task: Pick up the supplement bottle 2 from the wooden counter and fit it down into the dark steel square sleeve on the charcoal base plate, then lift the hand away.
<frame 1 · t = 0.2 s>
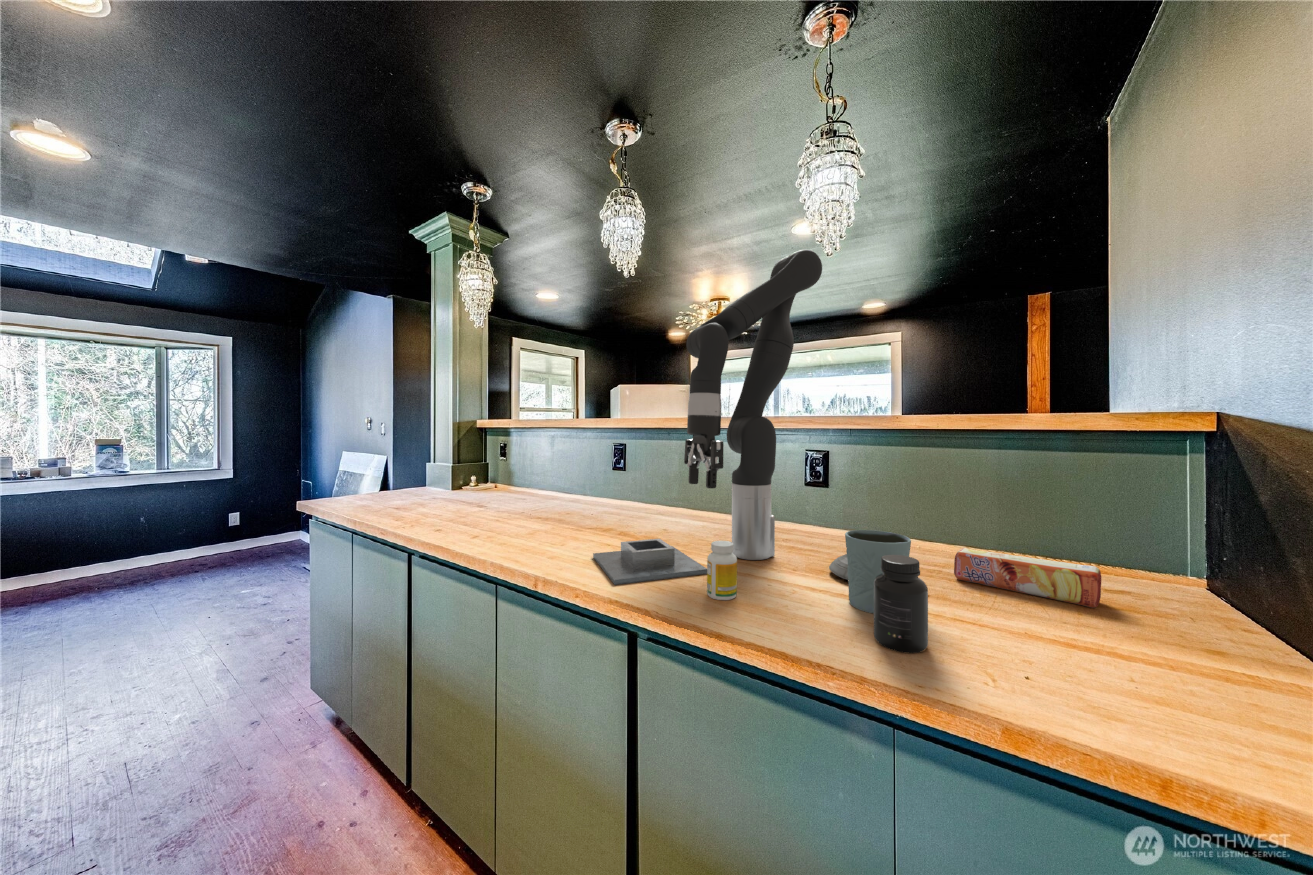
hand: (701, 485, 103), 17 cm above the counter, tool pointing down, fingers open, 8 cm apart
grey-green cup: (876, 605, 79), on the counter
sleeve: (647, 565, 102), on the counter
snack package: (1022, 592, 86), on the counter
supplement bottle 2: (721, 596, 83), on the counter
supplement bottle: (899, 644, 65), on the counter
flying saucer: (868, 579, 93), on the counter
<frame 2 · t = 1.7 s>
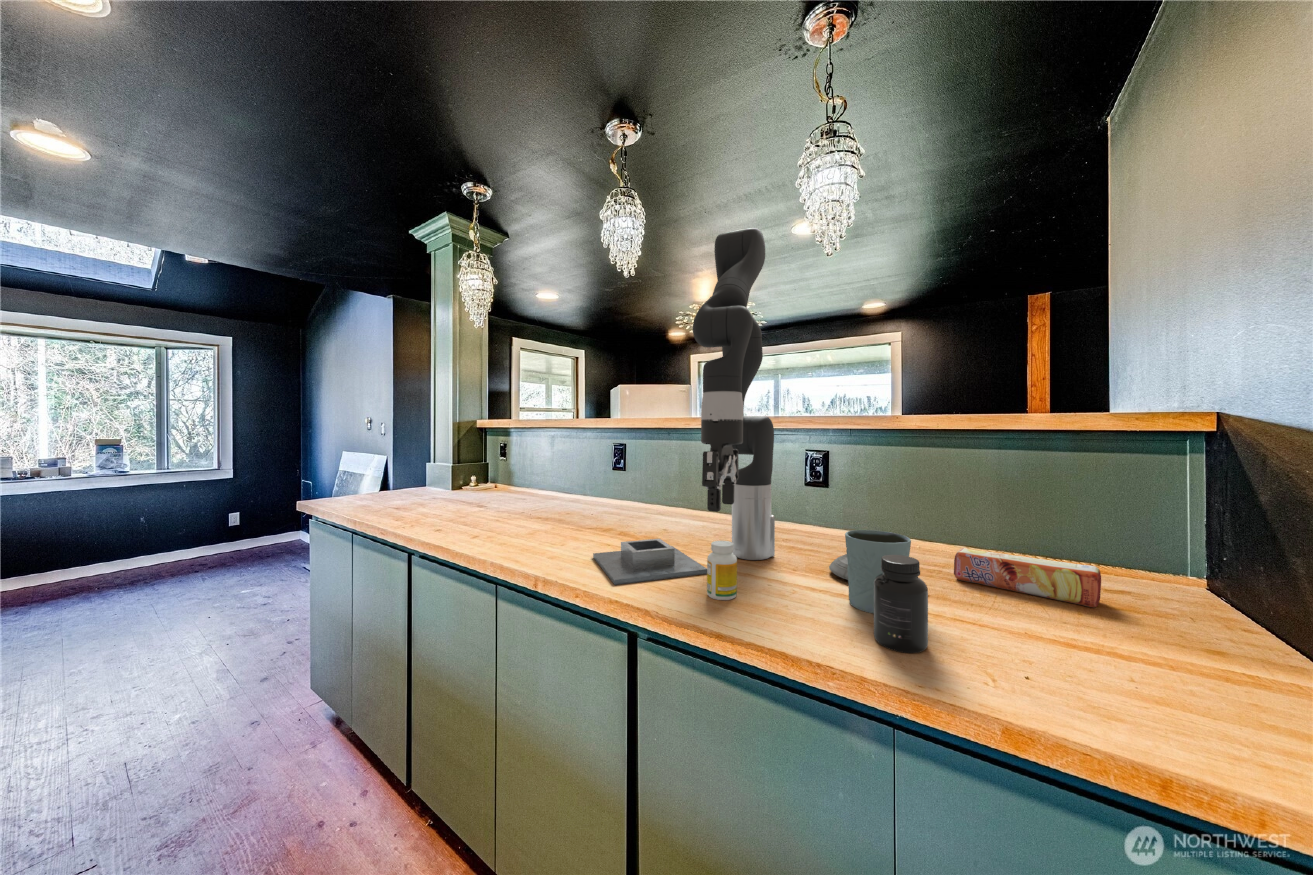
hand: (721, 507, 83), 16 cm above the counter, tool pointing down, fingers open, 8 cm apart
nothing on the counter moved.
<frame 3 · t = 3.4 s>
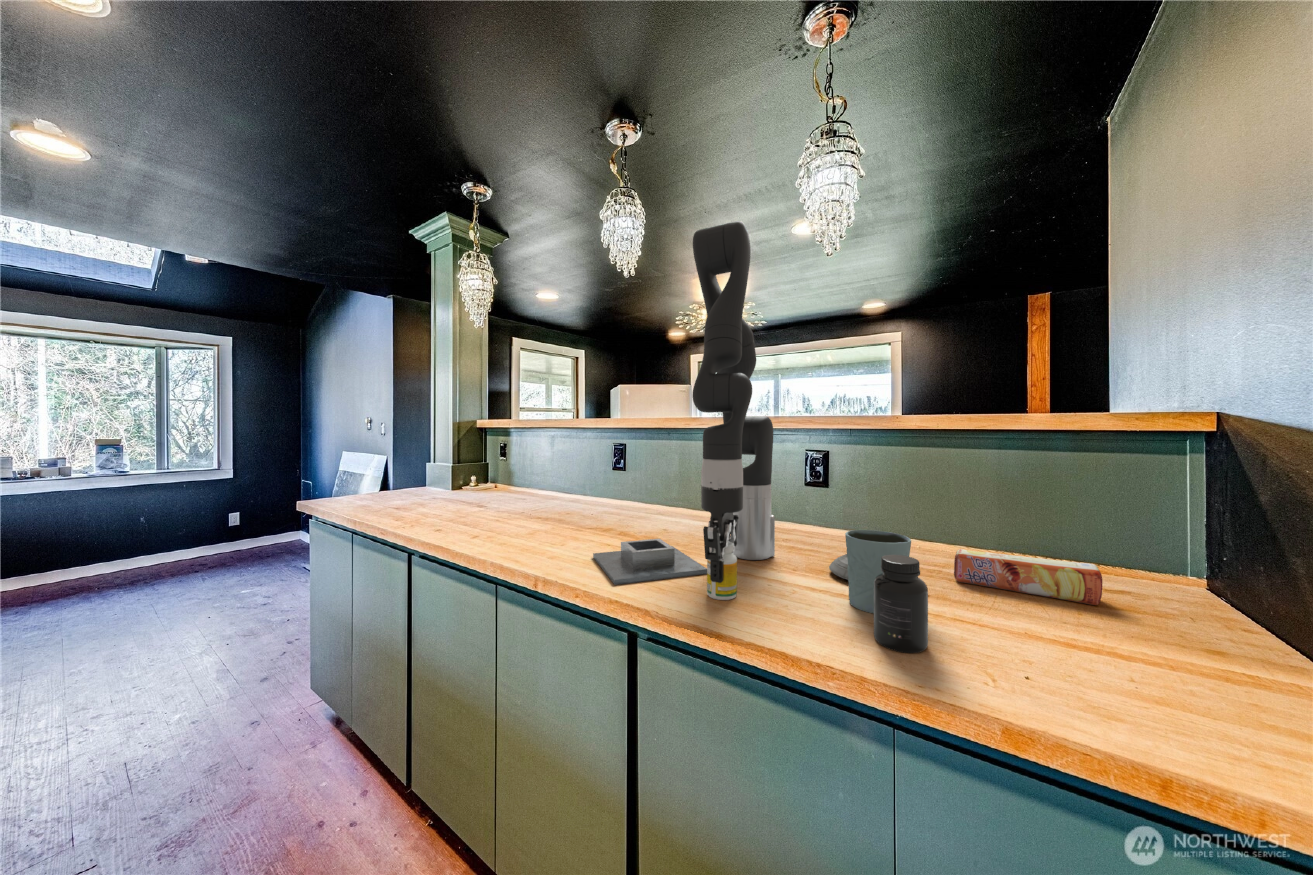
hand: (721, 576, 83), 4 cm above the counter, tool pointing down, fingers closed on supplement bottle 2, 5 cm apart
supplement bottle 2: (721, 596, 83), on the counter, touching gripper
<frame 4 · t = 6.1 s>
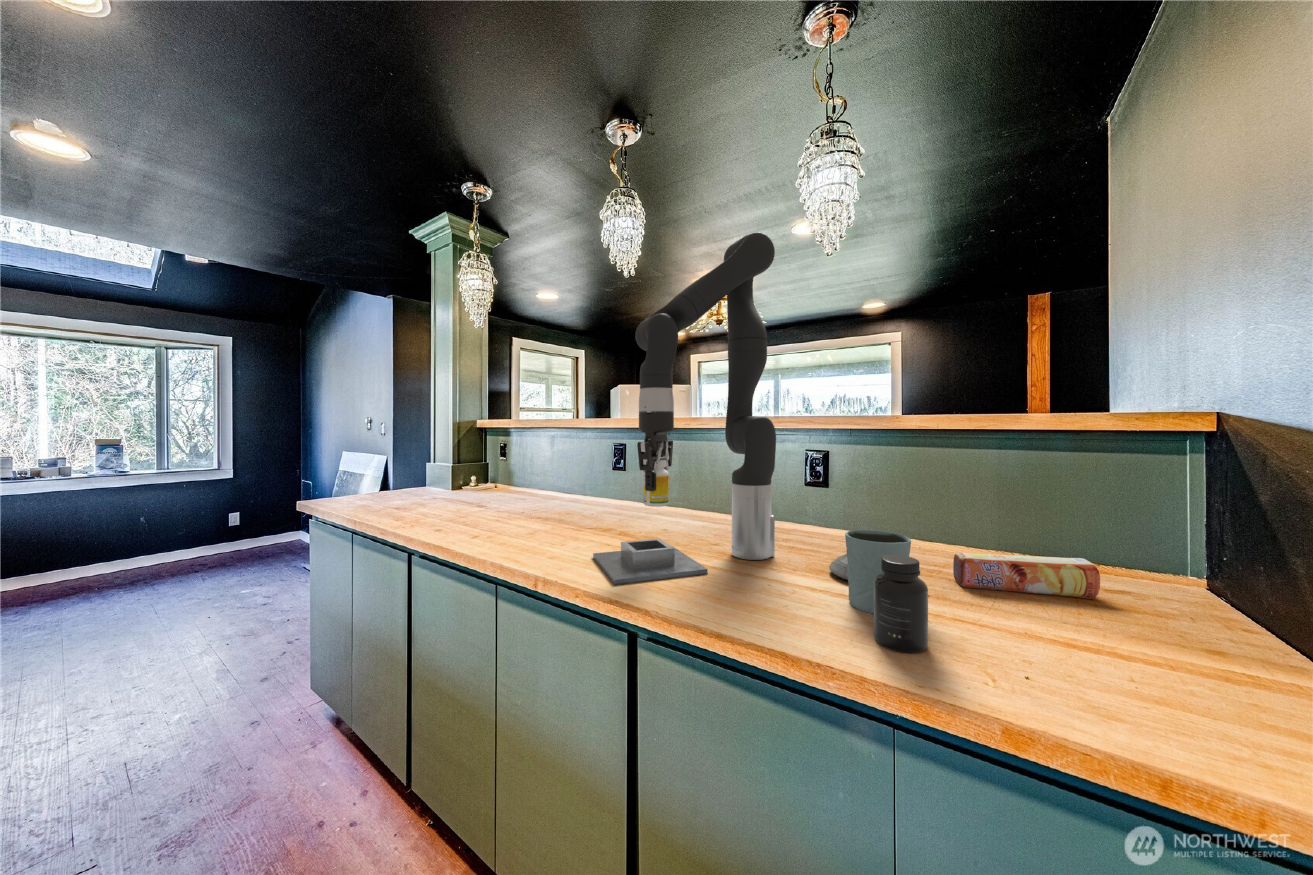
hand: (656, 488, 98), 17 cm above the counter, tool pointing down, fingers closed on supplement bottle 2, 5 cm apart
supplement bottle 2: (656, 505, 98), point 14 cm above the counter, touching gripper
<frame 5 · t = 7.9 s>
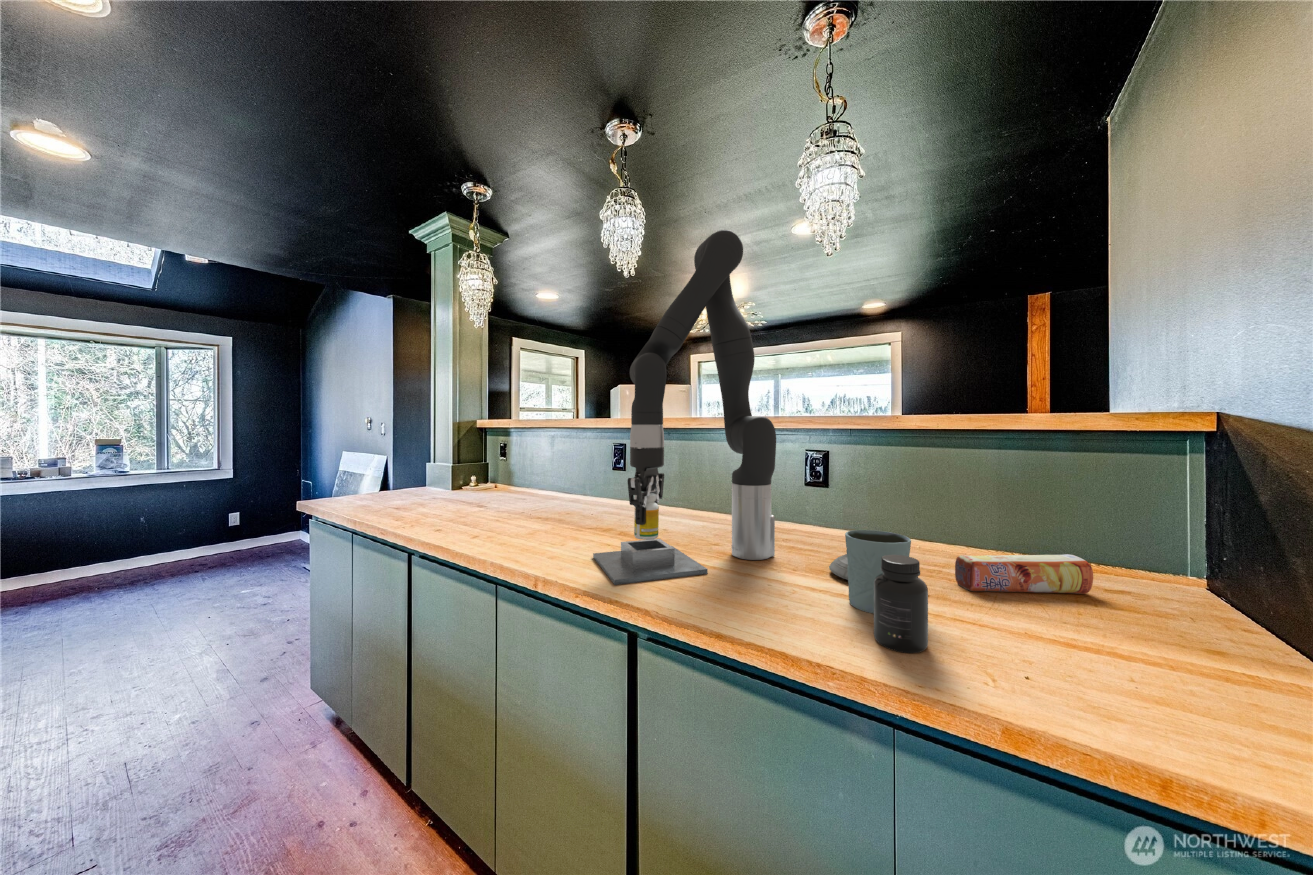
hand: (646, 521, 101), 10 cm above the counter, tool pointing down, fingers closed on supplement bottle 2, 5 cm apart
supplement bottle 2: (646, 538, 101), point 6 cm above the counter, touching gripper
when the fingers open (6 cm above the counter, at t = 9.2 s): supplement bottle 2 drops 1 cm, resting on sleeve.
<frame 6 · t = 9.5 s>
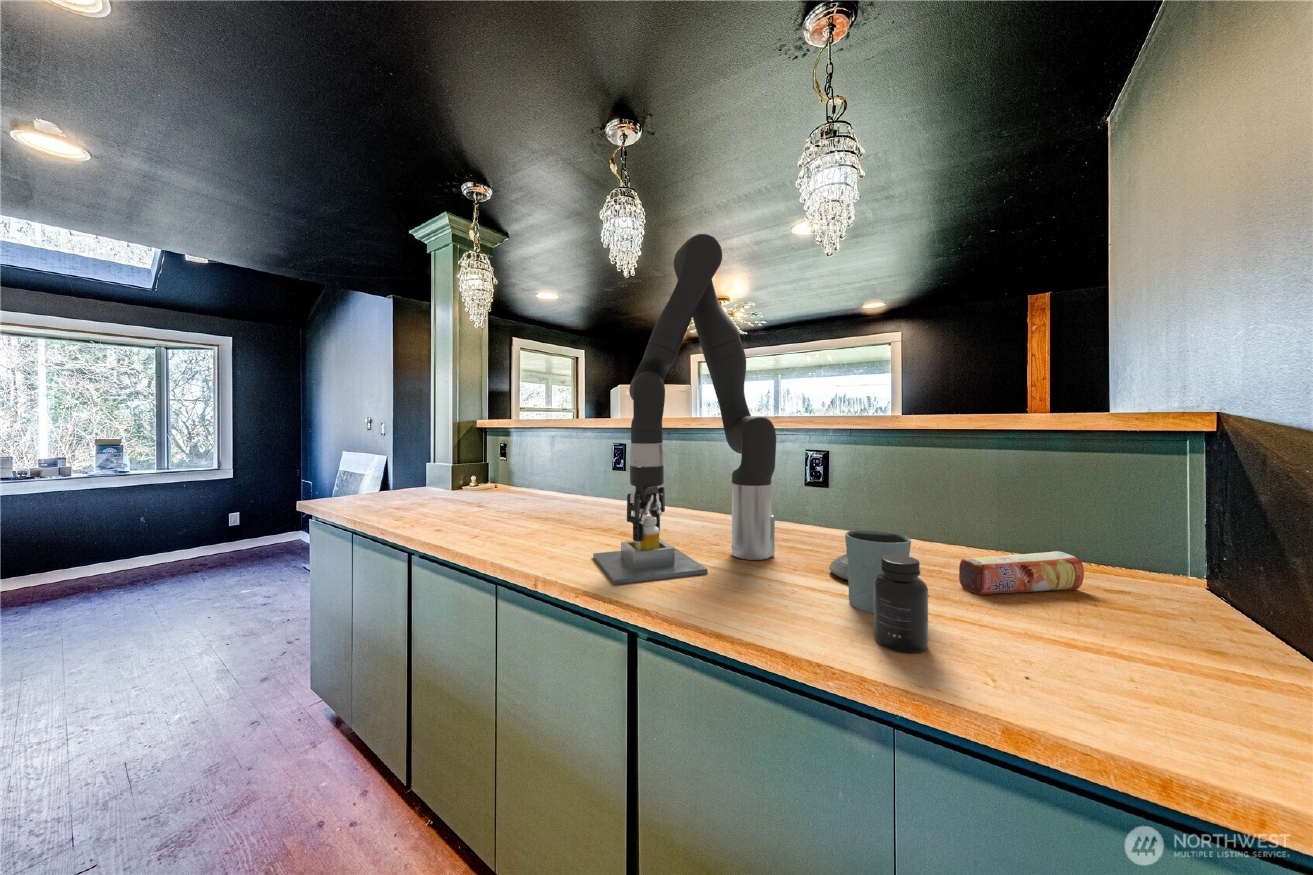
hand: (646, 536, 101), 6 cm above the counter, tool pointing down, fingers open, 8 cm apart
supplement bottle 2: (647, 561, 102), point 1 cm above the counter, touching sleeve
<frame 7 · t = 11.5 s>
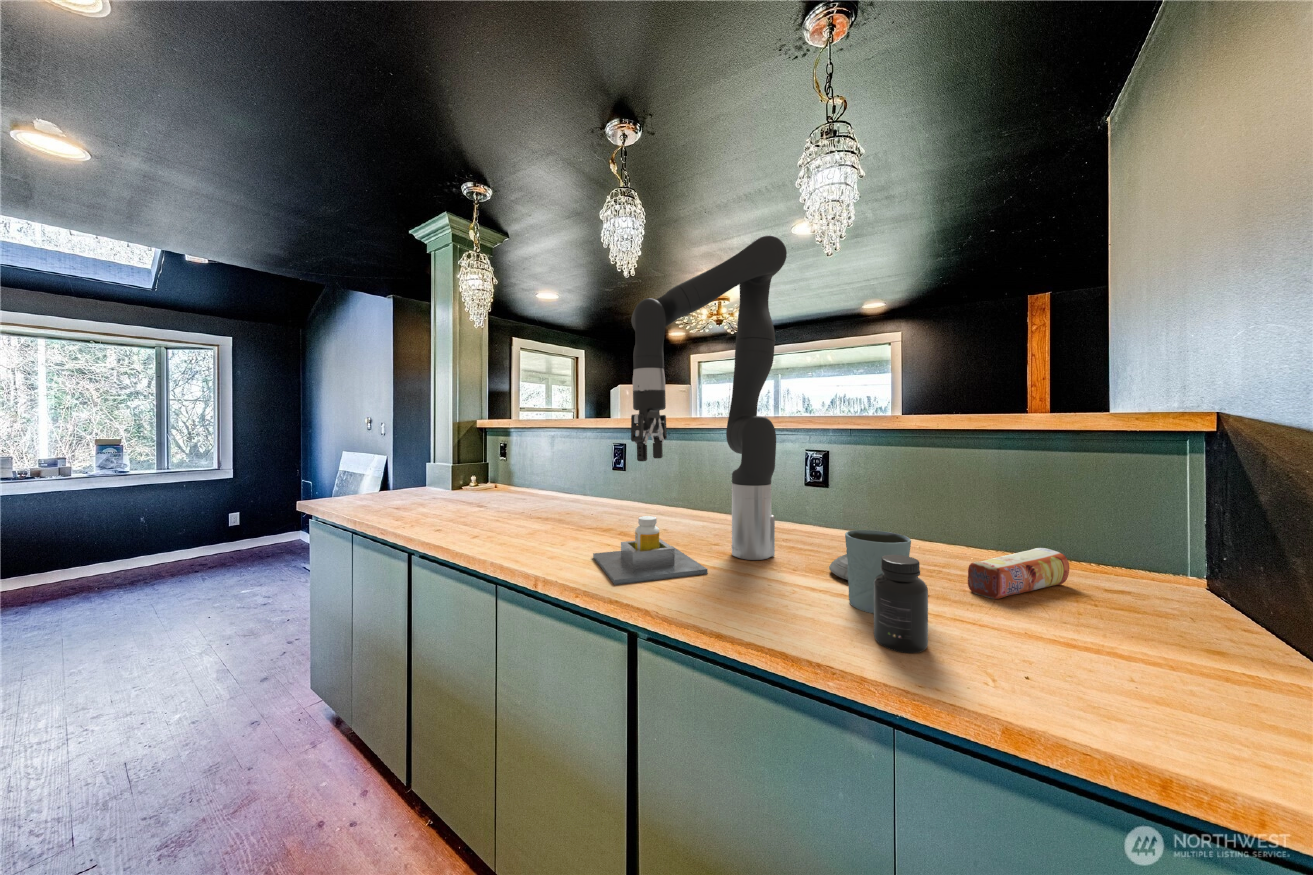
hand: (650, 459, 106), 23 cm above the counter, tool pointing down, fingers open, 8 cm apart
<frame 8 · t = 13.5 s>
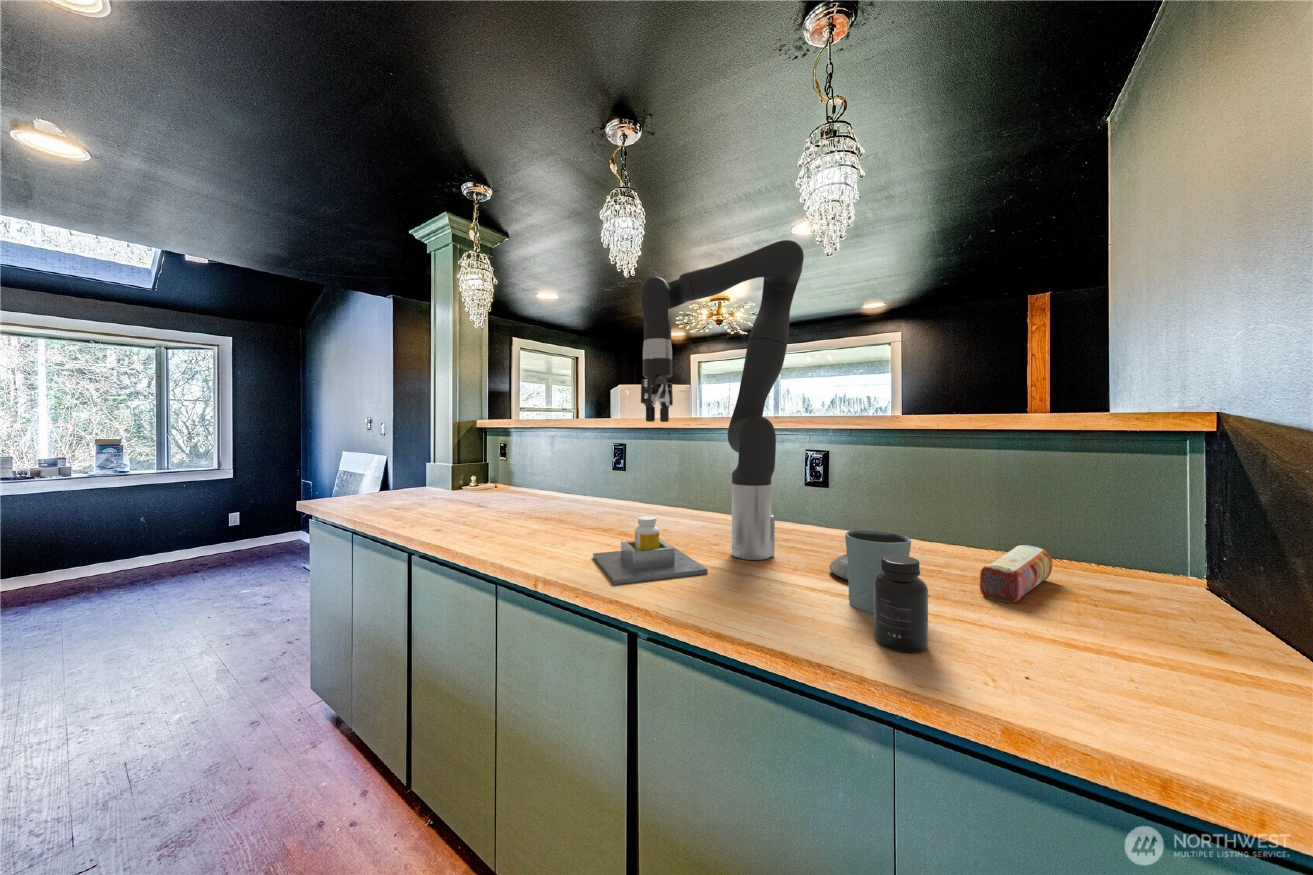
hand: (657, 421, 118), 32 cm above the counter, tool pointing down, fingers open, 8 cm apart
at the end: supplement bottle 2 0.1 cm off-centre on the sleeve, point 0.8 cm above the sleeve's base; supplement bottle 2 tilted 0°; the gripper is holding nothing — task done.
